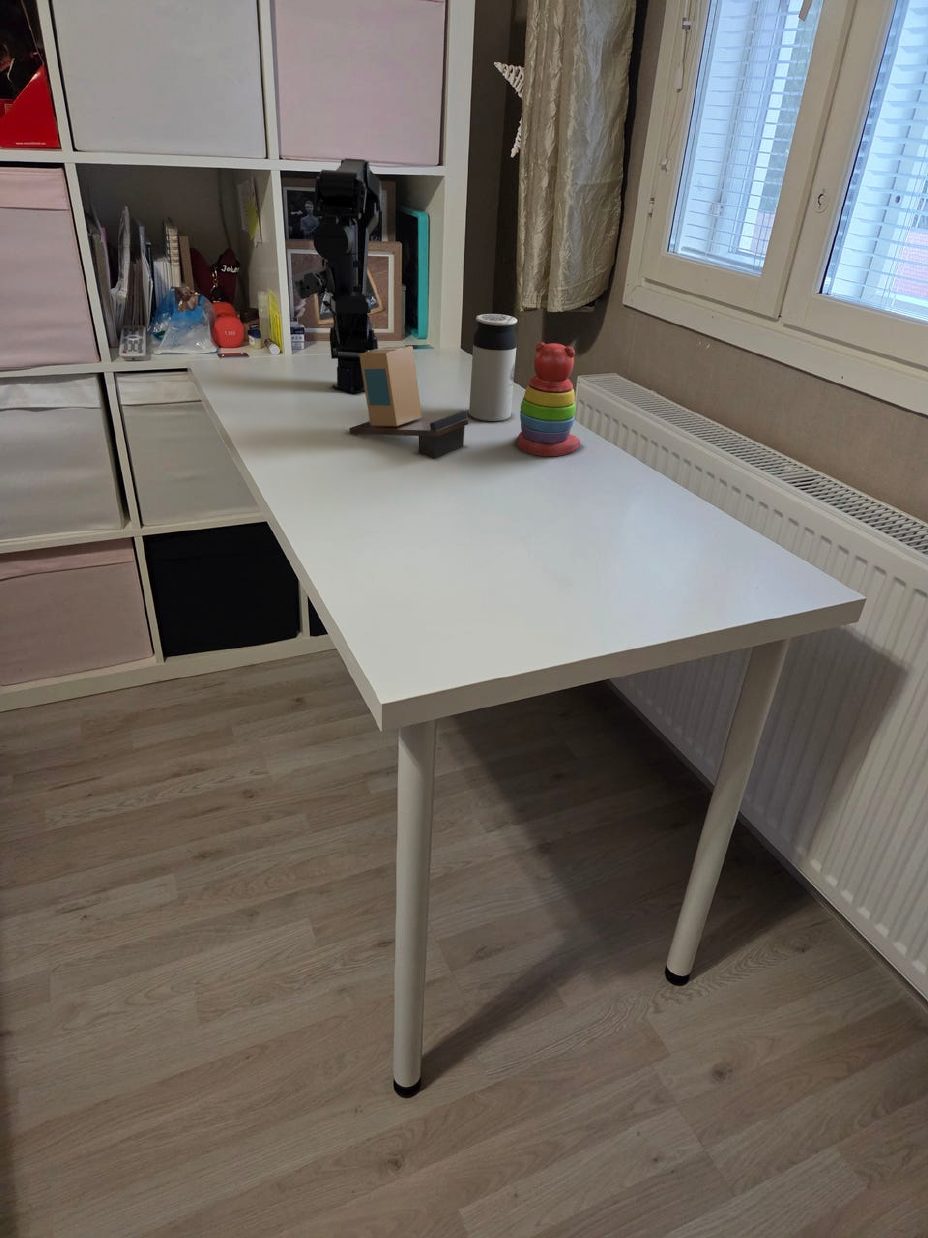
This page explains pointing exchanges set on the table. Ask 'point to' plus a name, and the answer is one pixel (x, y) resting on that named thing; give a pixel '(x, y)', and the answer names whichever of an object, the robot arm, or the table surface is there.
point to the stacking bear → (549, 404)
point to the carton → (391, 386)
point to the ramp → (425, 433)
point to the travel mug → (493, 367)
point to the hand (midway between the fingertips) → (342, 344)
